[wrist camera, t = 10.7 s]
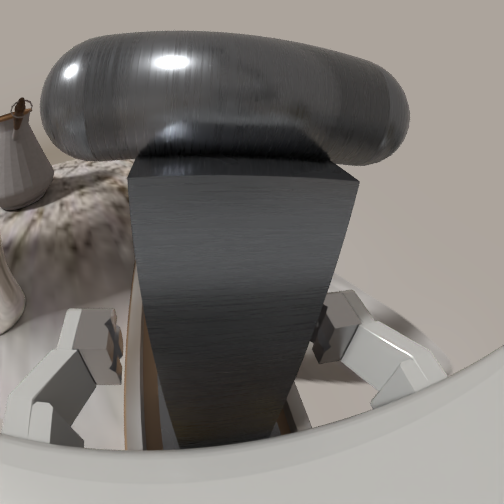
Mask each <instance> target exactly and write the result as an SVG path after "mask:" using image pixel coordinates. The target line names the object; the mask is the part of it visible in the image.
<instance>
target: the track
mask: <svg viewBox="0 0 504 504" xmlns="http://www.w3.org/2000/svg"><path fill="white" fill-rule="evenodd" d="M157 374H158V373H157V369H156V365H155V361H154V357H153V352H152V348H151V343H150V339H149V334H148V329H147V324H146V319H145V314H144V309H143V303H142V298H141V292H140V286H139V280H138V273H137V267H136V260H135V264H134V271H133V279H132V287H131V295H130V305H129V315H128V326H127V339H126V355H125V378H124V436H125V450H163V444H162V434H161V423H160V411H159V397H158V380H157ZM277 424H278V427H279V430H280V433H281V435H286V434H290V433H294V432H299V431H303V430H307V429H311V428H312V426H311V424H310V421H309V419H308V416H307V413H306V411H305V408H304V406H303V403H302V400H301V398H300V395H299V393H298V390H297V388H296V385H295V382H293V385H292V387H291V389H290V392H289V394H288V396H287V399H286V401H285V403H284V406H283V408H282V410H281V412H280V415H279V417H278V419H277Z"/></svg>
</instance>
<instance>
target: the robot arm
mask: <svg viewBox="0 0 504 504" xmlns="http://www.w3.org/2000/svg"><path fill="white" fill-rule="evenodd" d="M116 322H117V315H116V312H115V309H113V308H84V309H77V308H69V310H68V311H67V312H66V316H65V319H64V323H63V326H62V330H61V334H60V338H59V342H58V346H57V349H52V350H51V351H50V352H49V353H48V354H47V355H46V356H45V357H44V358H43V359H42V360H41V361H40V362H39V363H38V365H37V366H36V367H35V368H34V369H33V370H32V371H31V372H30V373H29V374H28V375H27V376H26V377H25V378H24V379H23V380H22V381H21V383H20V384H19V385H18V386H17V387H16V388H15V389H14V390H13V391H12V392H11V393H10V395H9V396H8V400H7V404H6V409H5V414H4V420H3V426H2V433H1V434H0V504H504V345H503V346H501V347H500V348H498V349H497V350H495V351H493V352H492V353H490V354H488V355H487V356H485V357H483V358H482V359H480V360H478V361H477V362H475V363H473V364H471V365H470V366H468V367H466V368H464V369H462V370H460V371H459V372H457V373H455V374H453V375H451V376H449V377H448V376H447V374H446V373H445V371H444V370H443V368H442V367H441V365H440V364H439V362H438V361H437V360H436V358H435V357H434V355H433V354H432V352H431V351H430V350H428V349H427V348H425V347H423V346H421V345H420V344H418V343H416V342H414V341H413V340H411V339H409V338H408V337H406V336H404V335H402V334H401V333H399V332H397V331H395V330H394V329H392V328H390V327H388V326H387V325H385V324H383V323H381V322H380V321H375V320H374V319H373V317H372V316H371V314H370V313H369V311H368V310H367V309H366V307H365V306H364V304H363V303H362V301H361V300H360V298H359V297H358V296H357V294H356V293H355V292H354V291H353V290H346V291H339V292H331V293H327V294H326V297H325V300H324V303H323V306H322V309H321V312H320V315H319V317H318V320H317V323H316V326H315V328H314V331H313V334H312V336H311V339H310V341H311V342H312V343H314V345H313V348H312V350H313V352H314V354H315V356H316V359H317V361H318V363H319V364H323V363H328V362H333V361H339V360H341V362H342V363H344V364H345V365H346V366H347V367H349V368H350V369H351V370H352V371H354V372H355V373H356V374H357V375H359V376H360V377H361V378H362V379H364V380H365V381H366V382H367V383H369V384H370V385H371V386H372V387H374V388H375V389H376V390H378V391H379V392H378V393H377V395H376V396H375V397H374V398H373V399H372V401H371V403H370V404H371V406H372V408H373V410H370V411H367V412H364V413H361V414H358V415H355V416H352V417H349V418H346V419H343V420H339V421H336V422H333V423H329V424H326V425H322V426H318V427H315V428H311V429H307V430H303V431H299V432H294V433H290V434H286V435H281V436H276V437H271V438H266V439H260V440H255V441H249V442H242V443H236V444H229V445H221V446H212V447H202V448H190V449H175V450H107V449H92V448H84V440H83V439H82V438H81V437H80V436H79V435H78V434H77V433H76V432H75V431H74V430H73V429H72V428H71V425H72V424H73V422H74V420H75V419H76V417H77V416H78V414H79V413H80V411H81V409H82V408H83V406H84V405H85V403H86V402H87V400H88V399H89V397H90V396H91V394H92V393H93V391H94V390H95V388H96V385H121V380H122V366H121V363H120V360H119V359H120V358H121V357H122V356H123V339H122V333H121V329H120V327H119V326H118V325H117V324H116Z"/></svg>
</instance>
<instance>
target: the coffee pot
mask: <svg viewBox="0 0 504 504" xmlns="http://www.w3.org/2000/svg"><path fill="white" fill-rule="evenodd" d="M25 101H27V102H29V103H30V104H31V101H28V100H24V98H20V99H19V101H18V102H16V103H15V104H17V105H16V106H15V112H11V113H9V114H6V115H3V116H0V207H1V208H2V209H4V210H15V209H19V208H23V207H26V206H28V205H30V204H32V203H34V202H36V201H38V200H39V199H40V198H42V197H43V195H44V194H45V191H46V190H47V188H48V187H49V186H50V184H51V182H52V179H53V175H54V170H53V168H52V166H51V164H50V162H49V161H48V159H47V157H46V155H45V154H44V152H43V150H42V148H41V146H40V144H39V143H38V141H37V139H36V137H35V135H34V133H33V131H32V130H31V127H30V125H29V123H28V122H29V115H30V112H31V111H32V107H31V109H25ZM15 104H14V105H15ZM14 105H13V106H14ZM13 106H12V107H13ZM31 106H32V104H31ZM11 111H12V109H11Z"/></svg>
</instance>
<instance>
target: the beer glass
mask: <svg viewBox="0 0 504 504" xmlns="http://www.w3.org/2000/svg"><path fill="white" fill-rule="evenodd" d="M25 303H26V300H25V295H24V293H23V291H22V289H21V288H20V286H19V285H18V283H17V282H16V280H15V279H14V277H13V275H12V273H11V271H10V269H9V267H8V264H7V262H6V258H5V255H4V251H3V245H2V239H1V232H0V334H2V333H4V332H6V331H7V330H9V329H10V328H11V327H12V326H13V325H14V324H15V323H16V322H17V321H18V320H19V318H20V317H21V315H22V313H23V311H24V308H25Z"/></svg>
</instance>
